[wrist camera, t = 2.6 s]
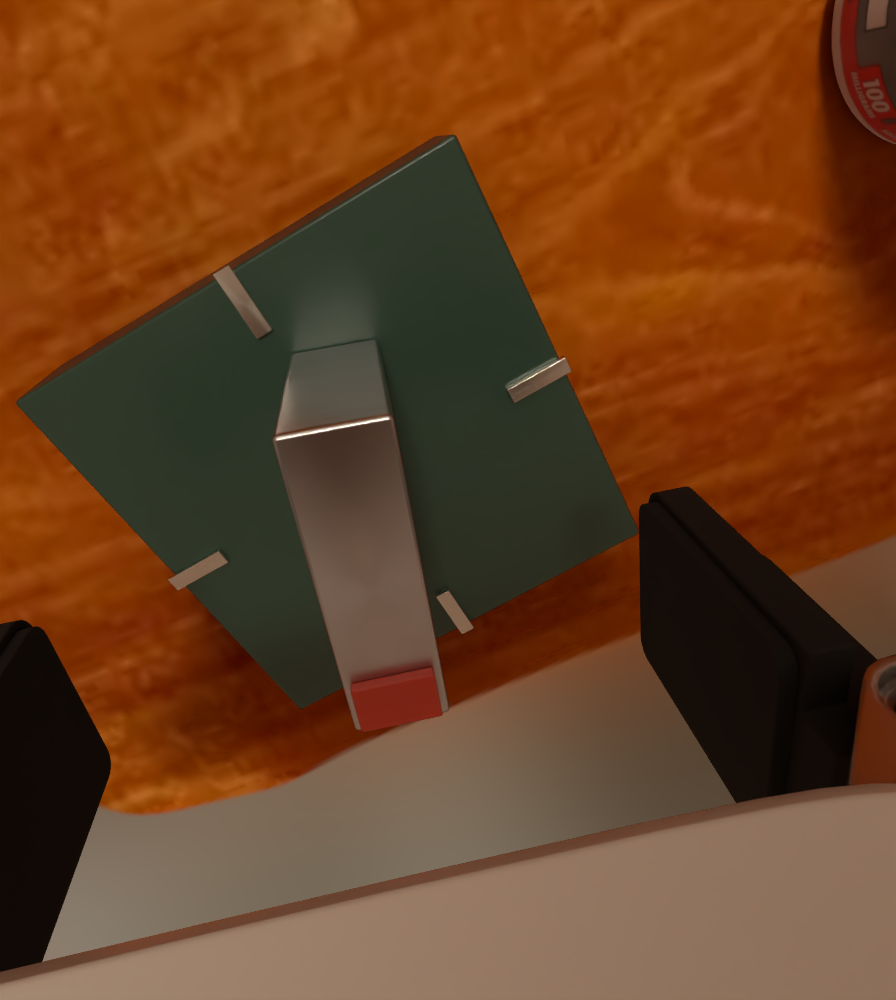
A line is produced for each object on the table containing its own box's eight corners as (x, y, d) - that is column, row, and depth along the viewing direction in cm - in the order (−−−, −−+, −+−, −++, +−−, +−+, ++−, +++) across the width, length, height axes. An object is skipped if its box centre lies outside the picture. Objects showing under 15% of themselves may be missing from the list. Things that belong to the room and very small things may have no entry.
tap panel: (439, 127, 15) (458, 123, 12) (610, 490, 19) (648, 537, 17) (51, 365, 16) (1, 403, 13) (303, 653, 20) (298, 719, 18)
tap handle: (289, 353, 14) (268, 443, 10) (377, 337, 14) (394, 419, 10) (351, 593, 17) (355, 742, 12) (424, 578, 17) (452, 722, 13)
